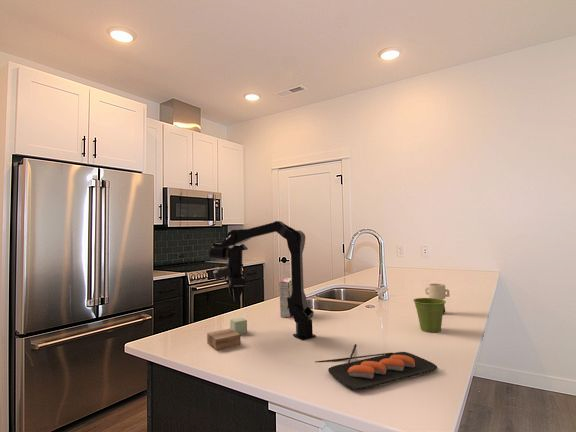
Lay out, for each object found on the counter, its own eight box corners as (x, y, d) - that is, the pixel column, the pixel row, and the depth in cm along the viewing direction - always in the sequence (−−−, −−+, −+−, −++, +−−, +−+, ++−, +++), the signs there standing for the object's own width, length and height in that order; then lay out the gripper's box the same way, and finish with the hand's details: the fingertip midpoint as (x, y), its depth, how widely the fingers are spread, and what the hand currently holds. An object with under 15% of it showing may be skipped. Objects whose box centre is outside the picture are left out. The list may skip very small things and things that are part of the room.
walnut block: (240, 346, 118) (240, 334, 119) (216, 351, 114) (216, 339, 114) (230, 339, 126) (230, 328, 126) (207, 344, 121) (207, 332, 121)
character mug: (453, 313, 154) (451, 284, 154) (447, 316, 149) (446, 286, 149) (429, 309, 161) (427, 282, 162) (423, 312, 156) (421, 284, 157)
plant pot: (451, 329, 130) (450, 299, 131) (441, 336, 122) (439, 305, 122) (421, 323, 138) (420, 296, 139) (409, 330, 130) (407, 301, 130)
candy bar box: (284, 311, 165) (283, 278, 166) (294, 311, 164) (293, 278, 165) (279, 317, 154) (278, 281, 155) (290, 317, 153) (289, 281, 154)
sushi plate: (354, 398, 80) (353, 381, 80) (300, 356, 108) (299, 344, 108) (442, 374, 92) (442, 360, 92) (373, 342, 119) (373, 331, 120)
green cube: (247, 332, 133) (246, 320, 133) (235, 335, 130) (235, 322, 130) (242, 329, 137) (241, 317, 137) (230, 332, 134) (230, 319, 135)
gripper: (212, 258, 141) (210, 295, 141) (217, 263, 124) (216, 306, 123) (238, 258, 145) (237, 294, 145) (247, 263, 127) (246, 305, 127)
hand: (233, 299), depth 135 cm, fingers open, 9 cm apart
